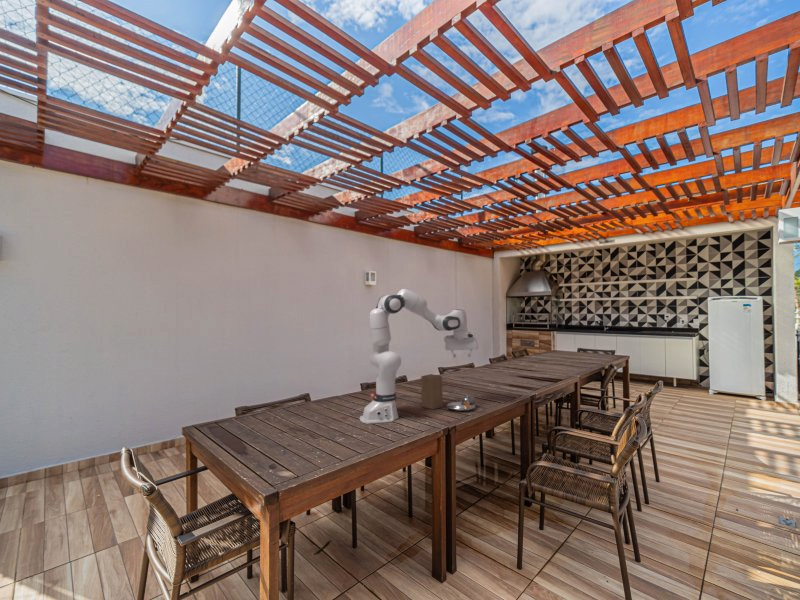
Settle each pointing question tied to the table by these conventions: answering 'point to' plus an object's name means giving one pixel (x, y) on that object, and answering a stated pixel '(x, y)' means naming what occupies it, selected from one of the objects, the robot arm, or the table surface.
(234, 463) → the table surface
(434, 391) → the wooden block
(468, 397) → the cast cover
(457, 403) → the turntable
